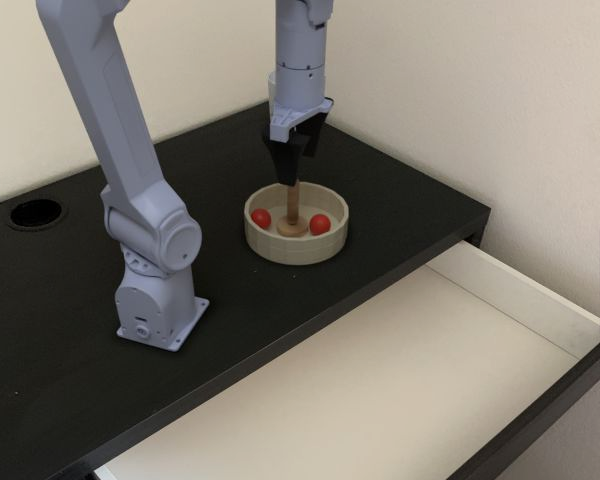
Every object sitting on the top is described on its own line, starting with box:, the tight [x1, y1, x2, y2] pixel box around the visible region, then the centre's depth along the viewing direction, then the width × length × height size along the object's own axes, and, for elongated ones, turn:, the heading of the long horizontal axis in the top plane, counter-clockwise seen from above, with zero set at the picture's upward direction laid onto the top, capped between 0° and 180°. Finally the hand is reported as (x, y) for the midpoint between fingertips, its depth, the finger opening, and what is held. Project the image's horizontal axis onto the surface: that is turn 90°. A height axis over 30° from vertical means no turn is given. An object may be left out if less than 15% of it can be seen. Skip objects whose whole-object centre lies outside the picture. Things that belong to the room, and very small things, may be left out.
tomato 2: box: [309, 214, 331, 236], centre depth 91 cm, size 3×3×3 cm
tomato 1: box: [250, 209, 271, 230], centre depth 92 cm, size 3×3×3 cm
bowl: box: [243, 181, 350, 266], centre depth 92 cm, size 14×14×4 cm
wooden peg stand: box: [277, 178, 308, 238], centre depth 90 cm, size 4×4×8 cm
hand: (297, 169), depth 86 cm, fingers open, 7 cm apart
